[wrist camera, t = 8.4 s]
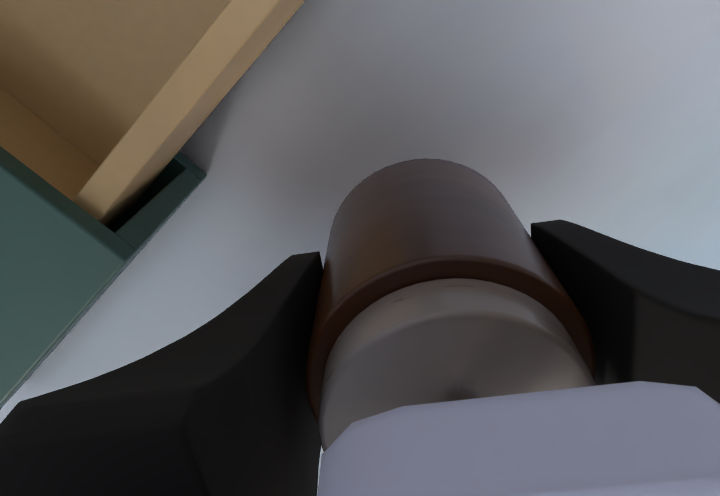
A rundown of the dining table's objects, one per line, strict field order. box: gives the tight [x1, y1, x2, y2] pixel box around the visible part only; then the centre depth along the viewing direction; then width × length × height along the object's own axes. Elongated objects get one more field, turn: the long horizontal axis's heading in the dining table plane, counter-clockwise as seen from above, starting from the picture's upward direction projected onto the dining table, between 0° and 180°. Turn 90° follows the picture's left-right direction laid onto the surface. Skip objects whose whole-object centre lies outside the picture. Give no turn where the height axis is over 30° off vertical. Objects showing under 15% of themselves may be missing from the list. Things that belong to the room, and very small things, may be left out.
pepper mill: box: [305, 159, 596, 452], centre depth 10 cm, size 5×5×7 cm
